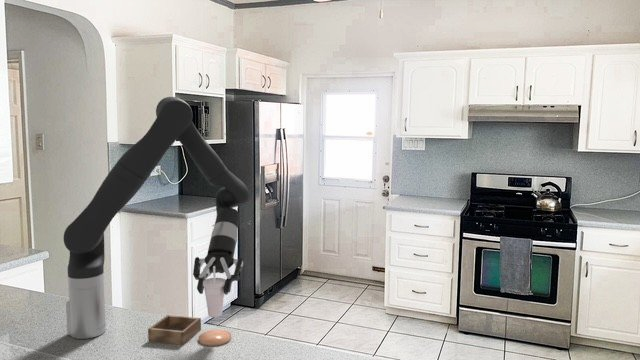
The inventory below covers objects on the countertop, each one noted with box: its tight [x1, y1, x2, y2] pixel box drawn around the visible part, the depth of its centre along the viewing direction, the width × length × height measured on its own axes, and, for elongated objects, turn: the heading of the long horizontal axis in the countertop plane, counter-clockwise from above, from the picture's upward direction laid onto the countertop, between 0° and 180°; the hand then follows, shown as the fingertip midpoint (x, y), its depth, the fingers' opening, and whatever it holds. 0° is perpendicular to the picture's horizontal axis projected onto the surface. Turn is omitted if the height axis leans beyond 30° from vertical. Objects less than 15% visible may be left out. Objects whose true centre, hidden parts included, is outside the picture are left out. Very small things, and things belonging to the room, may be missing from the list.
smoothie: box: [203, 266, 226, 318], centre depth 139 cm, size 6×6×14 cm
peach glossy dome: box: [198, 329, 233, 347], centre depth 140 cm, size 9×9×1 cm
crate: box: [147, 314, 202, 346], centre depth 142 cm, size 11×11×4 cm
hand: (213, 292), depth 137 cm, fingers closed on smoothie, 6 cm apart
